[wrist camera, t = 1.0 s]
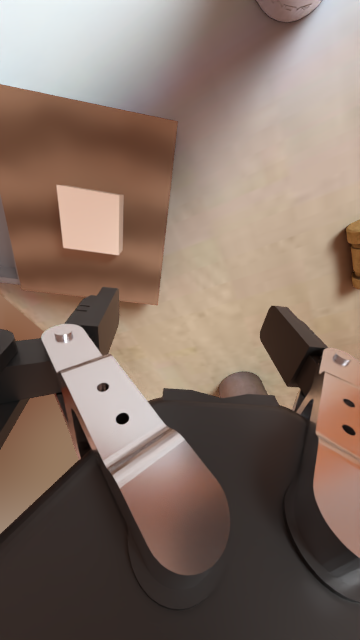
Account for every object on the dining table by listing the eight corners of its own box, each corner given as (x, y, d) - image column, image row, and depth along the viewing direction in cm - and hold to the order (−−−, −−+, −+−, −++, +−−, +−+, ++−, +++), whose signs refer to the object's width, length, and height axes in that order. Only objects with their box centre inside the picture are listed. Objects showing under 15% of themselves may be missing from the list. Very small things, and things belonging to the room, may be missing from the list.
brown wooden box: (15, 102, 25) (-26, 78, 19) (176, 134, 27) (177, 121, 21) (43, 274, 34) (21, 289, 29) (159, 289, 36) (157, 305, 31)
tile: (66, 185, 24) (56, 184, 21) (123, 194, 24) (119, 195, 22) (71, 243, 27) (63, 247, 24) (122, 250, 27) (118, 255, 25)
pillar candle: (270, 378, 48) (307, 447, 35) (246, 406, 52) (270, 477, 39) (232, 365, 46) (256, 433, 33) (210, 395, 50) (223, 466, 37)
